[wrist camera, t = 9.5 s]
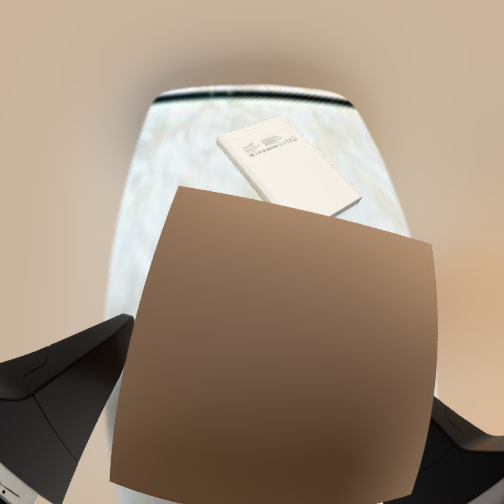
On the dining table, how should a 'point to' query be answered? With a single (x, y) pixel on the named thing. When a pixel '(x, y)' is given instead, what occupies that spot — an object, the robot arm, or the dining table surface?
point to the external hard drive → (288, 168)
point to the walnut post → (277, 359)
